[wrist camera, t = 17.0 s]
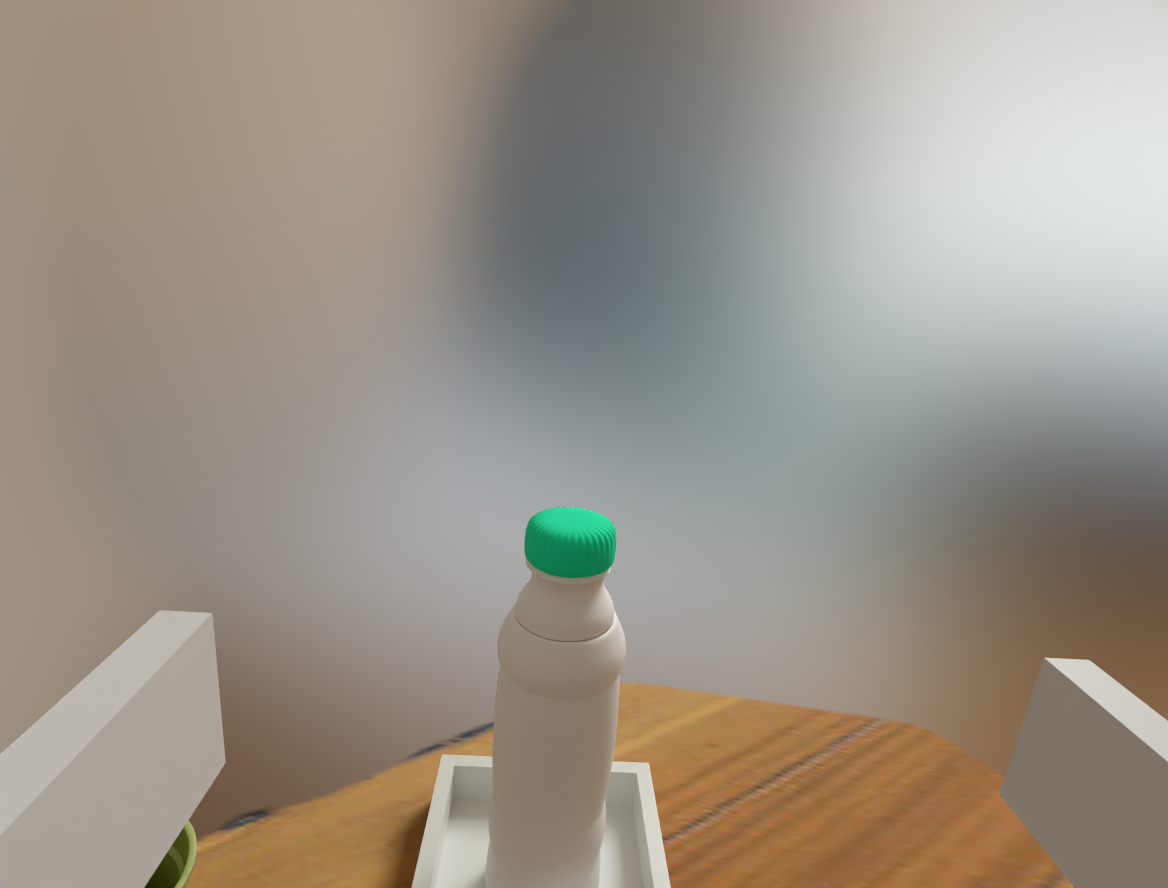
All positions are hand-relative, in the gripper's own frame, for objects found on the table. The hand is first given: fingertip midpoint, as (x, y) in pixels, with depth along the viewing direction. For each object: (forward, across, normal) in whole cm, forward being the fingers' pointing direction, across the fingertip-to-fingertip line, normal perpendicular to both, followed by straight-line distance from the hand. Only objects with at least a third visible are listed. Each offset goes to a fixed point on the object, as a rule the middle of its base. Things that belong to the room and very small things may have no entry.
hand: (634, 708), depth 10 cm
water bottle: (+22, 0, -32) cm, 39 cm away
